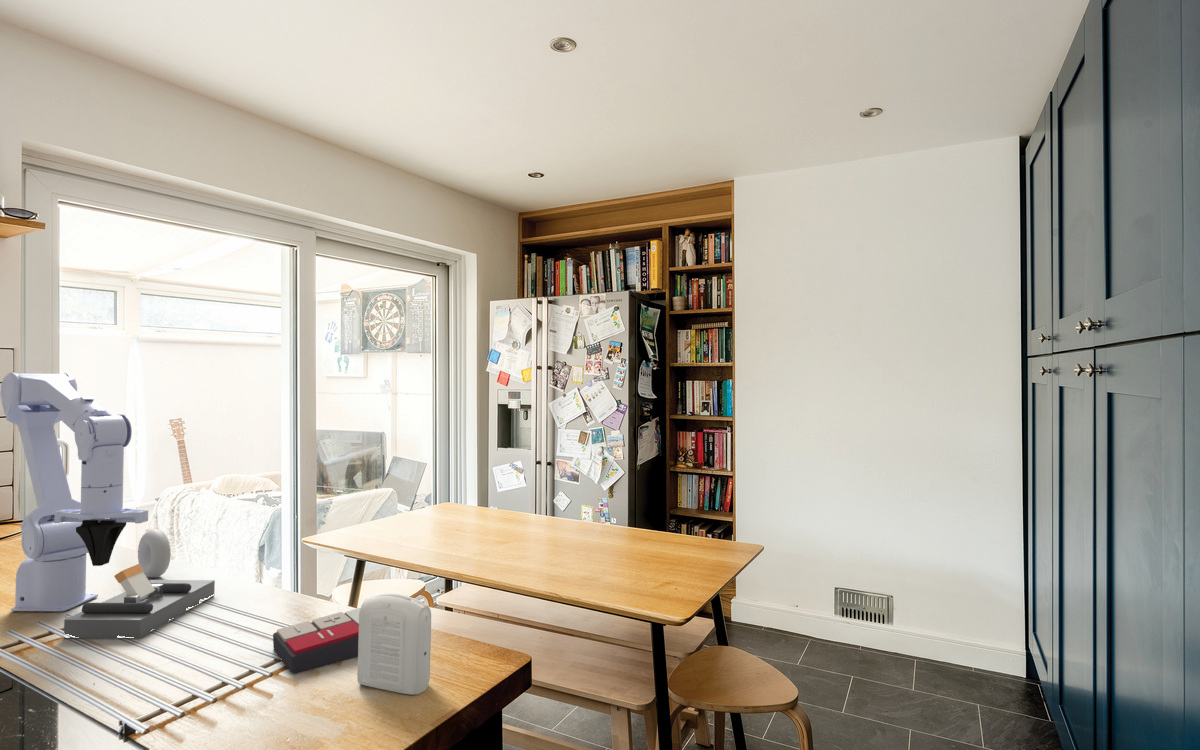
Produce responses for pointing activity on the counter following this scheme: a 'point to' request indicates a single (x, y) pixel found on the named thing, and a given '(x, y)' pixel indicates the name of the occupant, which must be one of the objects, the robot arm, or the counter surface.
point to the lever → (135, 582)
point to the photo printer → (394, 644)
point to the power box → (137, 610)
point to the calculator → (318, 641)
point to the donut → (154, 553)
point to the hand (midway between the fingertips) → (100, 564)
